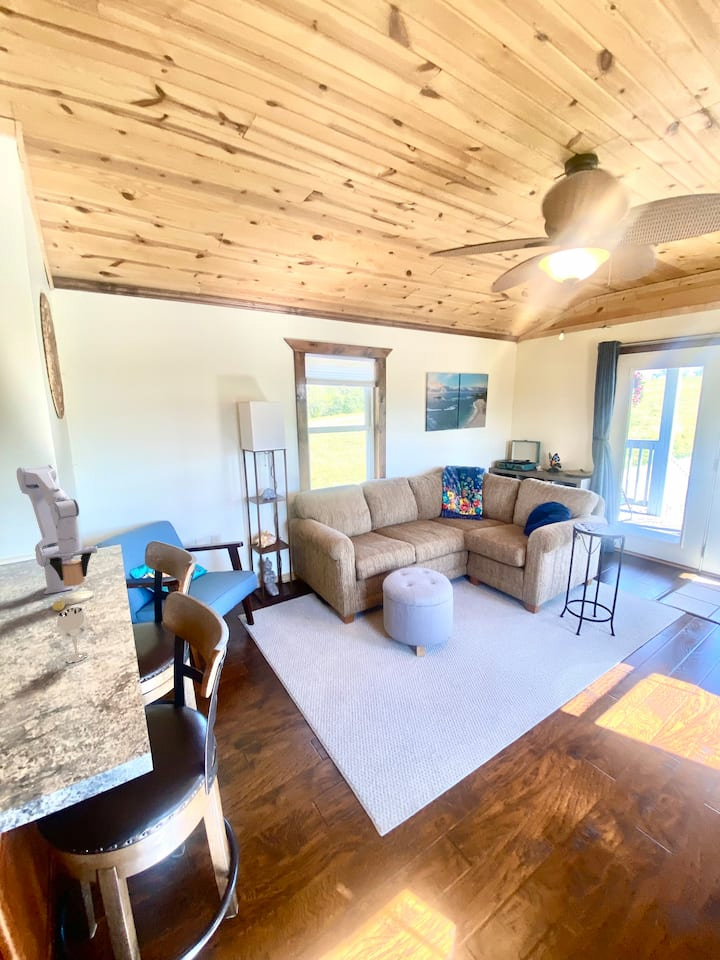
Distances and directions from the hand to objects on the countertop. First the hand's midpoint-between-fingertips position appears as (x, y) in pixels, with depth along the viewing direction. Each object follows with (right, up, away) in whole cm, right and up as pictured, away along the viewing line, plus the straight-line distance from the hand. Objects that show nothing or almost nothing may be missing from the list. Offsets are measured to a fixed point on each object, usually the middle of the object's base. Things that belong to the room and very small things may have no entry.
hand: (73, 577), depth 130 cm
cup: (0, -2, 0) cm, 2 cm away
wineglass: (+24, -12, -33) cm, 43 cm away
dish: (0, -7, +1) cm, 7 cm away
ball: (+1, -8, -7) cm, 11 cm away
